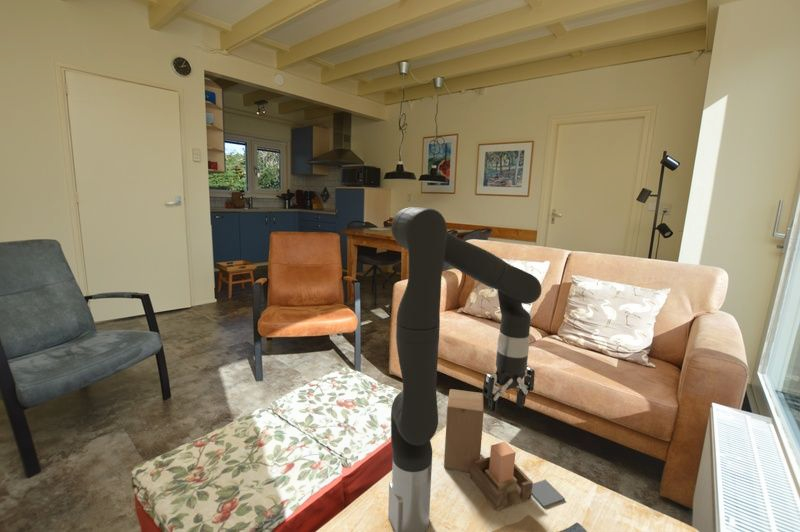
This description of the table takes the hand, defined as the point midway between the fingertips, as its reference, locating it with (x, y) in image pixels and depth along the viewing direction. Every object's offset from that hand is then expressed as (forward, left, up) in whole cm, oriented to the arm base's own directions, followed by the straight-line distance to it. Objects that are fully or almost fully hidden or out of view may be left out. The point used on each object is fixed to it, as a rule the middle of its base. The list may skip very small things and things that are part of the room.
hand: (506, 408), depth 98 cm
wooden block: (-4, +13, -24) cm, 28 cm away
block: (0, 0, -20) cm, 20 cm away
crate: (0, 0, -24) cm, 24 cm away
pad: (+10, -6, -24) cm, 26 cm away
